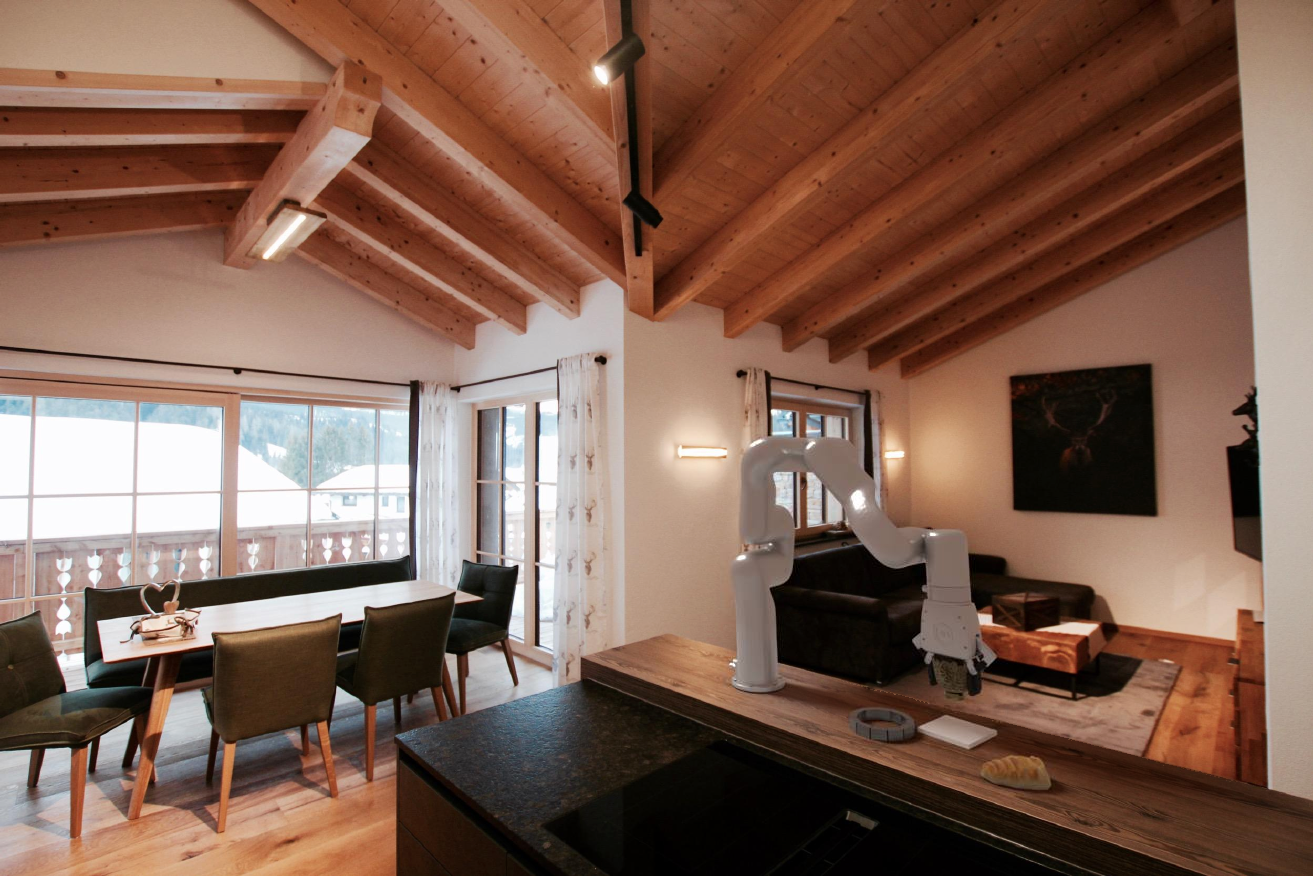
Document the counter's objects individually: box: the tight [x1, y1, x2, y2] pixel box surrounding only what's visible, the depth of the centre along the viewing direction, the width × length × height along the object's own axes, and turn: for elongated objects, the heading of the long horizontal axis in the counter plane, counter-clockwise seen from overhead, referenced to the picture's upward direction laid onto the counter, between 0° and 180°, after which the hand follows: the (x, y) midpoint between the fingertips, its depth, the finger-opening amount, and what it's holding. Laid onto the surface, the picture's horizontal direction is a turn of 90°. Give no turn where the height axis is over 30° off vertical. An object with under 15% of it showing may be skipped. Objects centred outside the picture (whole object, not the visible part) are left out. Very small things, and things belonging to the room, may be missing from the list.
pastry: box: [980, 754, 1052, 791], centre depth 100 cm, size 9×7×4 cm
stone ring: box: [849, 706, 915, 743], centre depth 121 cm, size 12×12×2 cm
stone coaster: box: [916, 714, 998, 750], centre depth 118 cm, size 10×10×1 cm
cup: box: [932, 654, 974, 702], centre depth 118 cm, size 8×7×8 cm
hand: (954, 688), depth 118 cm, fingers closed on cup, 6 cm apart
